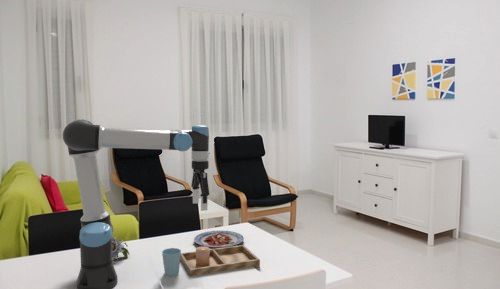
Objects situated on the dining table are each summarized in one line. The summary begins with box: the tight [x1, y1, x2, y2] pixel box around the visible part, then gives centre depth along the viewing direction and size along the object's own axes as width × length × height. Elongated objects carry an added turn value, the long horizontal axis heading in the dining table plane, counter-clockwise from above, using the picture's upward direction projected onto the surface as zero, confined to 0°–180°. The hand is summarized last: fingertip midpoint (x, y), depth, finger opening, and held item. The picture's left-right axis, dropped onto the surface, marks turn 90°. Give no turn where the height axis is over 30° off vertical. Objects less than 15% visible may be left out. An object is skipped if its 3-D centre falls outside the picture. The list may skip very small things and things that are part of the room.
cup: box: [161, 247, 182, 277], centre depth 169 cm, size 8×8×10 cm
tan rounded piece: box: [195, 245, 211, 267], centre depth 179 cm, size 6×6×7 cm
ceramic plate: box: [193, 230, 245, 248], centre depth 212 cm, size 26×26×3 cm
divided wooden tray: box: [180, 244, 261, 277], centre depth 182 cm, size 31×20×4 cm, turn 112°
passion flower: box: [112, 235, 130, 260], centre depth 188 cm, size 11×11×12 cm
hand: (199, 206), depth 184 cm, fingers open, 13 cm apart
